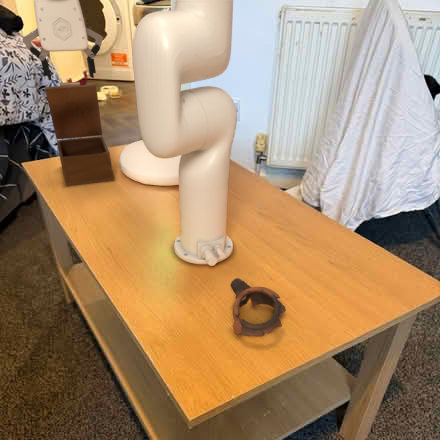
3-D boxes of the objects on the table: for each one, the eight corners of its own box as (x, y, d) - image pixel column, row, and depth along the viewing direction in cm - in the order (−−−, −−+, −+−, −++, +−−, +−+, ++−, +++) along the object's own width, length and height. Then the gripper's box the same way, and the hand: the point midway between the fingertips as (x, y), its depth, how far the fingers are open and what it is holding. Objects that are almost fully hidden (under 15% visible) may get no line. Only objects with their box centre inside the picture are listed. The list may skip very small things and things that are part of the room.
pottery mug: (296, 322, 72) (297, 306, 64) (257, 358, 70) (253, 346, 63) (250, 277, 76) (245, 257, 69) (212, 311, 75) (203, 294, 67)
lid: (96, 85, 106) (92, 75, 109) (44, 88, 103) (42, 77, 105) (102, 135, 118) (99, 125, 120) (56, 139, 114) (54, 128, 117)
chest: (113, 180, 113) (109, 152, 108) (66, 186, 110) (59, 157, 105) (106, 162, 123) (102, 136, 118) (62, 167, 120) (56, 140, 115)
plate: (229, 165, 111) (133, 181, 102) (227, 186, 116) (135, 203, 107) (190, 124, 129) (106, 134, 120) (190, 144, 134) (109, 155, 125)
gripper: (9, -11, 82) (32, 83, 93) (97, -11, 87) (110, 79, 97) (10, -13, 87) (32, 77, 98) (93, -12, 92) (105, 73, 103)
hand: (71, 78), depth 98 cm, fingers open, 9 cm apart
